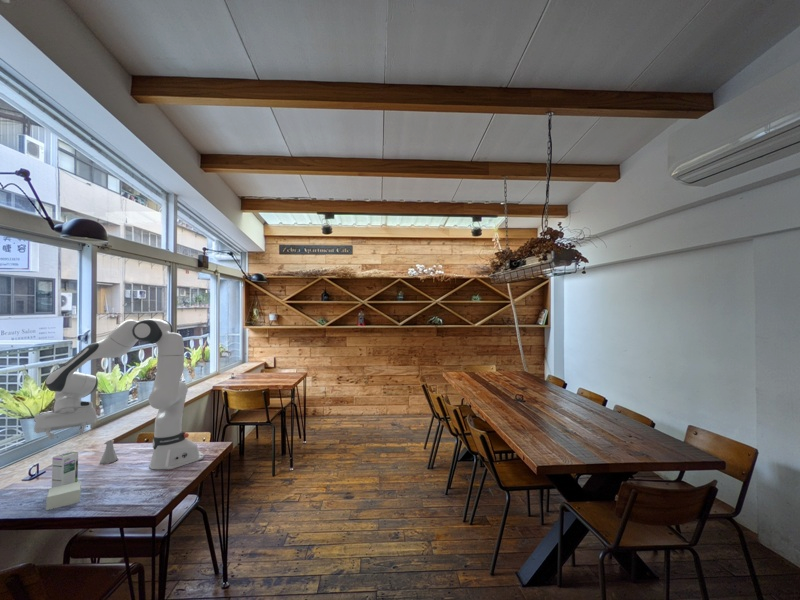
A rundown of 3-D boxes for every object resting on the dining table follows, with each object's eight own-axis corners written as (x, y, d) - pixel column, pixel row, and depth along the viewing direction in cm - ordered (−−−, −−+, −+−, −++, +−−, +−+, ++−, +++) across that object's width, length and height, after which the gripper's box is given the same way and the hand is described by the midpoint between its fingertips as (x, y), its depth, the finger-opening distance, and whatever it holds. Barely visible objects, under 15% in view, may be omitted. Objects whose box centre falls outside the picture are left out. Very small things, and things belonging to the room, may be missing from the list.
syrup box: (61, 493, 138) (63, 457, 139) (50, 492, 140) (52, 456, 140) (77, 486, 144) (79, 451, 145) (66, 485, 145) (68, 450, 146)
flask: (97, 465, 165) (98, 444, 166) (101, 460, 172) (102, 439, 172) (116, 462, 169) (117, 442, 169) (120, 457, 175) (120, 437, 176)
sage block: (80, 493, 139) (81, 481, 139) (79, 502, 132) (80, 489, 132) (49, 501, 133) (49, 488, 133) (46, 511, 126) (46, 497, 127)
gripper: (34, 409, 150) (31, 437, 142) (96, 401, 164) (97, 426, 157) (34, 417, 153) (32, 445, 145) (95, 409, 167) (96, 434, 160)
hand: (66, 435), depth 151 cm, fingers open, 8 cm apart
